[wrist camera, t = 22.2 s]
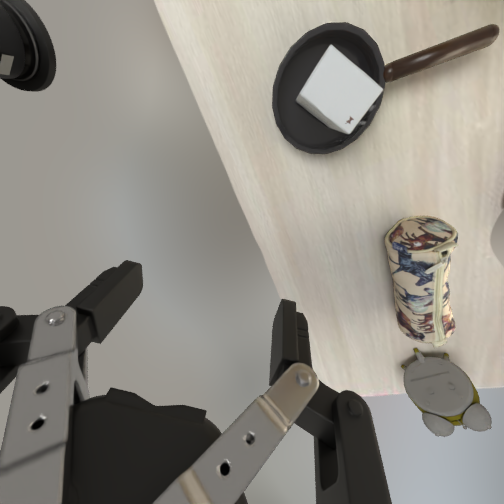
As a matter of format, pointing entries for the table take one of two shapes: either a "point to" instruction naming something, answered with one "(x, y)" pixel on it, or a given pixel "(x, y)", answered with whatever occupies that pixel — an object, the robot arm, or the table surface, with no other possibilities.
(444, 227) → the pencil case
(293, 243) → the table surface
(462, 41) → the pan handle
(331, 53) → the cosmetic box
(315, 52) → the frying pan
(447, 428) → the alarm clock
